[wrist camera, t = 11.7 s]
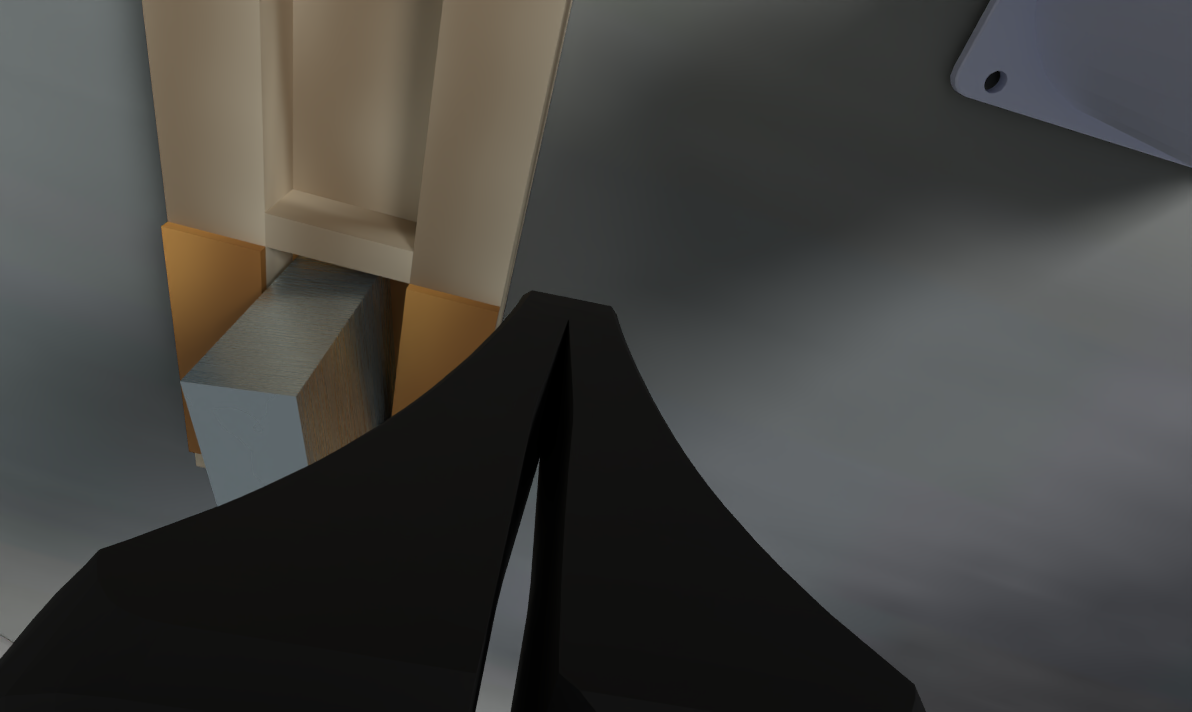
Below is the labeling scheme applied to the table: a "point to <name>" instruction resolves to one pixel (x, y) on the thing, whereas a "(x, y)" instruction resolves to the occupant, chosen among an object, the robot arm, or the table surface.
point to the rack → (350, 158)
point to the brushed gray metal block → (294, 376)
